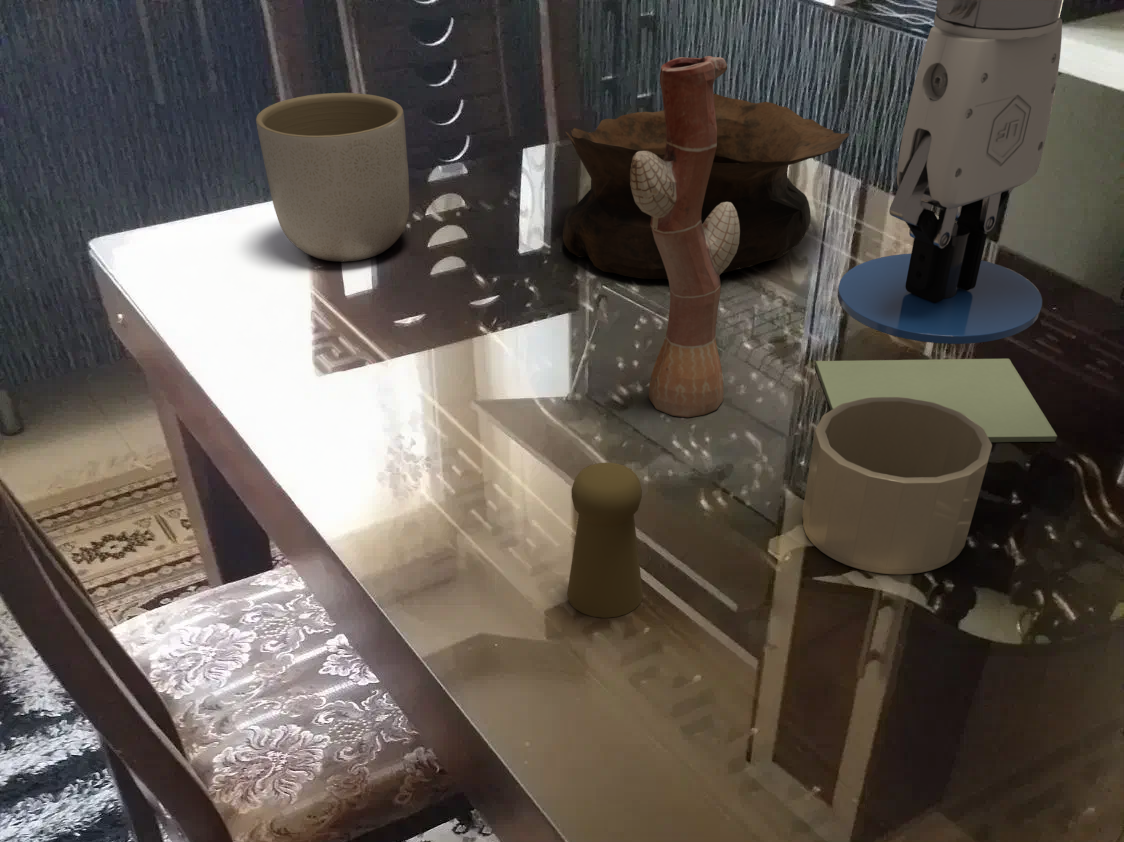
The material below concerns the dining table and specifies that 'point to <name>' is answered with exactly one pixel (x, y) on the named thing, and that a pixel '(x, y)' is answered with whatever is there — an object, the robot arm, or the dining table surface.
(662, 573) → the dining table surface
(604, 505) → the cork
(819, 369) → the mat
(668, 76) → the vase
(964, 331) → the lid
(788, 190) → the bowl
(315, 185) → the planter
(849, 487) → the pot
